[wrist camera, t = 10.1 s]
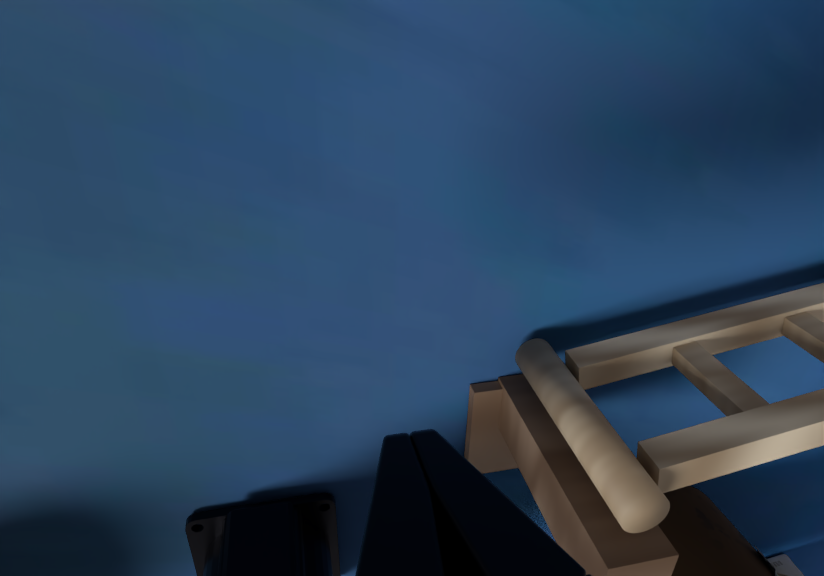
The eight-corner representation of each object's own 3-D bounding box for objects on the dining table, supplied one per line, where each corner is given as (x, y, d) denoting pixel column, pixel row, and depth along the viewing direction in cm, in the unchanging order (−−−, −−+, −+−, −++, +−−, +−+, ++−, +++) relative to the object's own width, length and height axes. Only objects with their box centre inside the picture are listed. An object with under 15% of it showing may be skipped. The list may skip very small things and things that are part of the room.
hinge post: (558, 451, 28) (675, 643, 20) (463, 466, 27) (545, 674, 19) (574, 367, 26) (715, 547, 18) (470, 380, 25) (568, 577, 17)
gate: (516, 373, 24) (619, 539, 17) (514, 343, 23) (622, 504, 16) (854, 283, 26) (1076, 399, 19) (863, 253, 25) (1098, 361, 18)
